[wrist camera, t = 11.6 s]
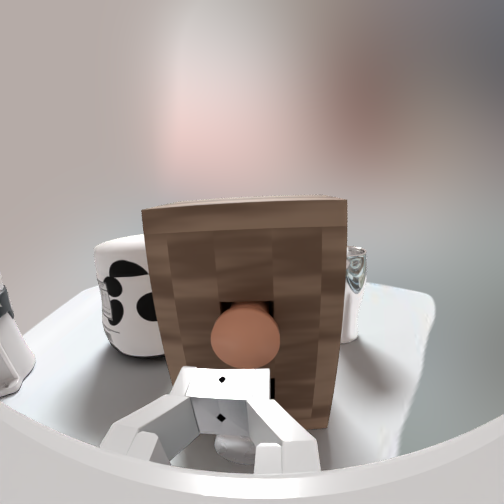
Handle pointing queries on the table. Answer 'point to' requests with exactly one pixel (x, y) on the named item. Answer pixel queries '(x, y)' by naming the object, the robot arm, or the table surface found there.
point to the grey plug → (236, 448)
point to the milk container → (127, 297)
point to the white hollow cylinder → (353, 291)
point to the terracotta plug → (246, 335)
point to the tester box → (254, 286)
